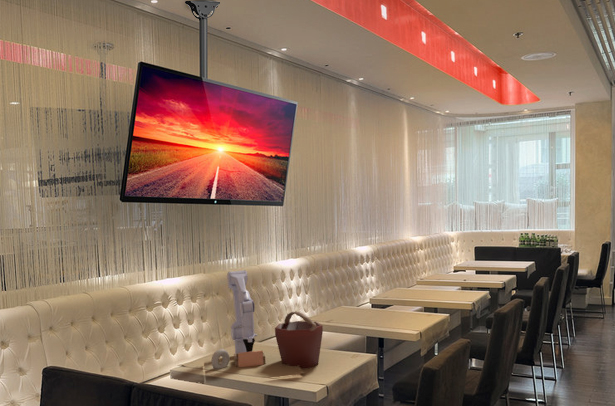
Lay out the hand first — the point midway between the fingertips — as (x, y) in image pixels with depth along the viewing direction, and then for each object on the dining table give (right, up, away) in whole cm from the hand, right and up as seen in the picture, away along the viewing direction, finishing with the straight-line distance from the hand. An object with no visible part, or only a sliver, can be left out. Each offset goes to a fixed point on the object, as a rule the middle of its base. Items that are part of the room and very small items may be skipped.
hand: (249, 354), depth 282 cm
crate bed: (0, -6, +1) cm, 6 cm away
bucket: (+24, -5, -2) cm, 25 cm away
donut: (-13, -7, -5) cm, 15 cm away
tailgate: (+1, -4, -5) cm, 7 cm away
